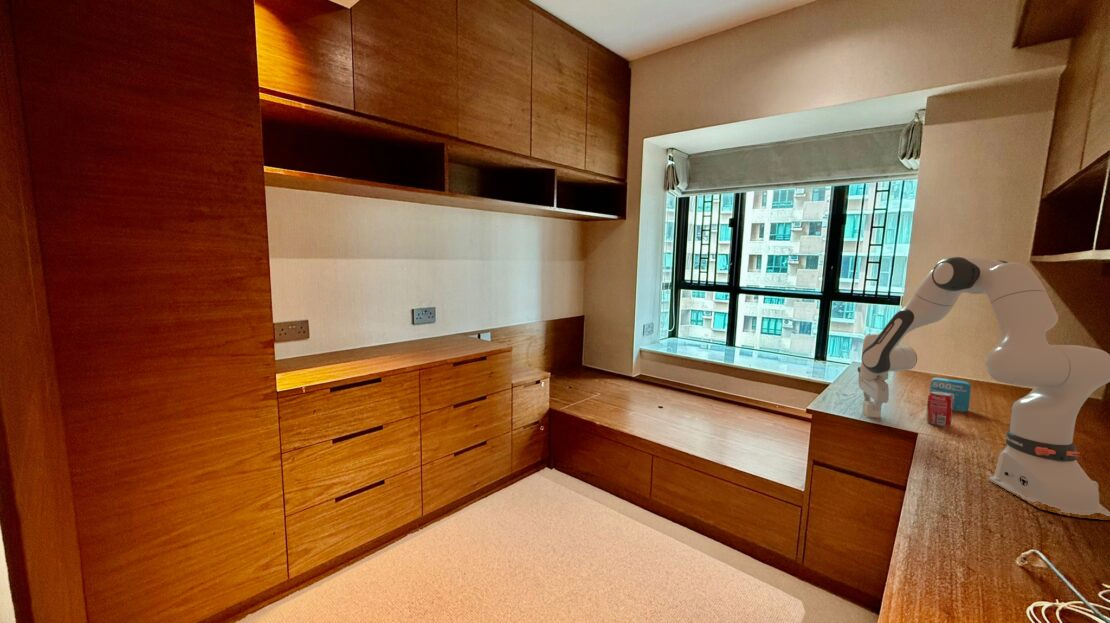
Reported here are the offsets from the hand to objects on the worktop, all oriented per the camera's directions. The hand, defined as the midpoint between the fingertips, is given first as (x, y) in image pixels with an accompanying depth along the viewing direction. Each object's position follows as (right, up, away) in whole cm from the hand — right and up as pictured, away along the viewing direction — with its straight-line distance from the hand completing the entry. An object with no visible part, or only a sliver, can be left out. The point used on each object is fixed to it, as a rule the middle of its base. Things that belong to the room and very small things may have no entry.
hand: (871, 406), depth 170 cm
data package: (+37, -3, +7) cm, 38 cm away
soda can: (+18, -5, -10) cm, 21 cm away
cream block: (0, -4, 0) cm, 4 cm away
